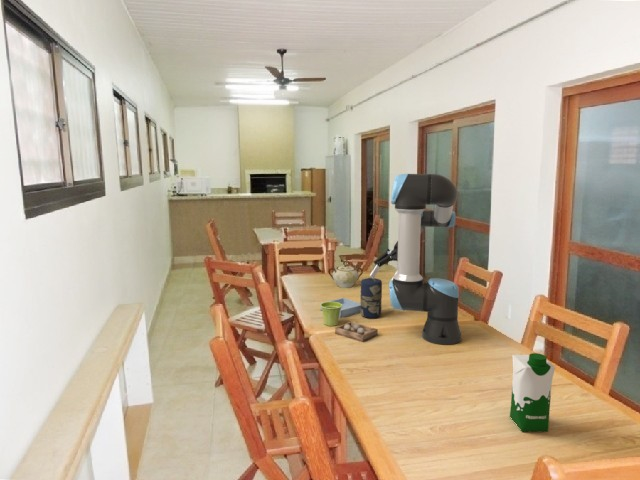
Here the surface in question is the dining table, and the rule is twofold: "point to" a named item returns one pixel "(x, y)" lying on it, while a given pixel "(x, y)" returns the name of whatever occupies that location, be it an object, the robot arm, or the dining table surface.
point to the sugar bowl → (345, 275)
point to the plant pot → (331, 312)
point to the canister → (371, 297)
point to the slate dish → (347, 307)
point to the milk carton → (531, 391)
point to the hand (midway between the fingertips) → (381, 280)
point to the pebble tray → (356, 331)
